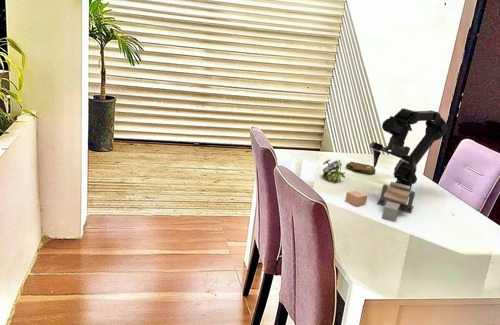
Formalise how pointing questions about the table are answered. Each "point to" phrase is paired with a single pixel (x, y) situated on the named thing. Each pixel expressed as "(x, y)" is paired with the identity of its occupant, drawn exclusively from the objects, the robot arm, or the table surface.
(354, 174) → the table surface
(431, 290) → the table surface
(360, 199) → the plinth
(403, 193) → the trapdoor
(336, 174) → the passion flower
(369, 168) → the decorative rock
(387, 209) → the slate block
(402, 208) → the trapdoor frame
